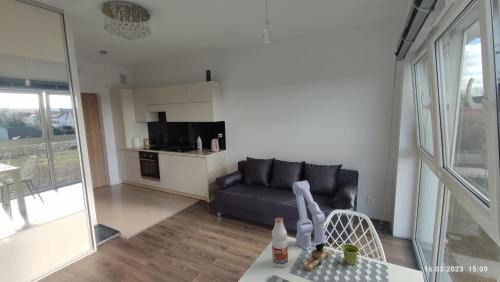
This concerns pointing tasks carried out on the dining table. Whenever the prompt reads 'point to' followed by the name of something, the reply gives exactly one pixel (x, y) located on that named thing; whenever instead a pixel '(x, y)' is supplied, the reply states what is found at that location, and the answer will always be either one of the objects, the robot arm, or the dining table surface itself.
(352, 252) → the plant pot
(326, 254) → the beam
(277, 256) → the fruit juice
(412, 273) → the dining table surface
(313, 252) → the rider
